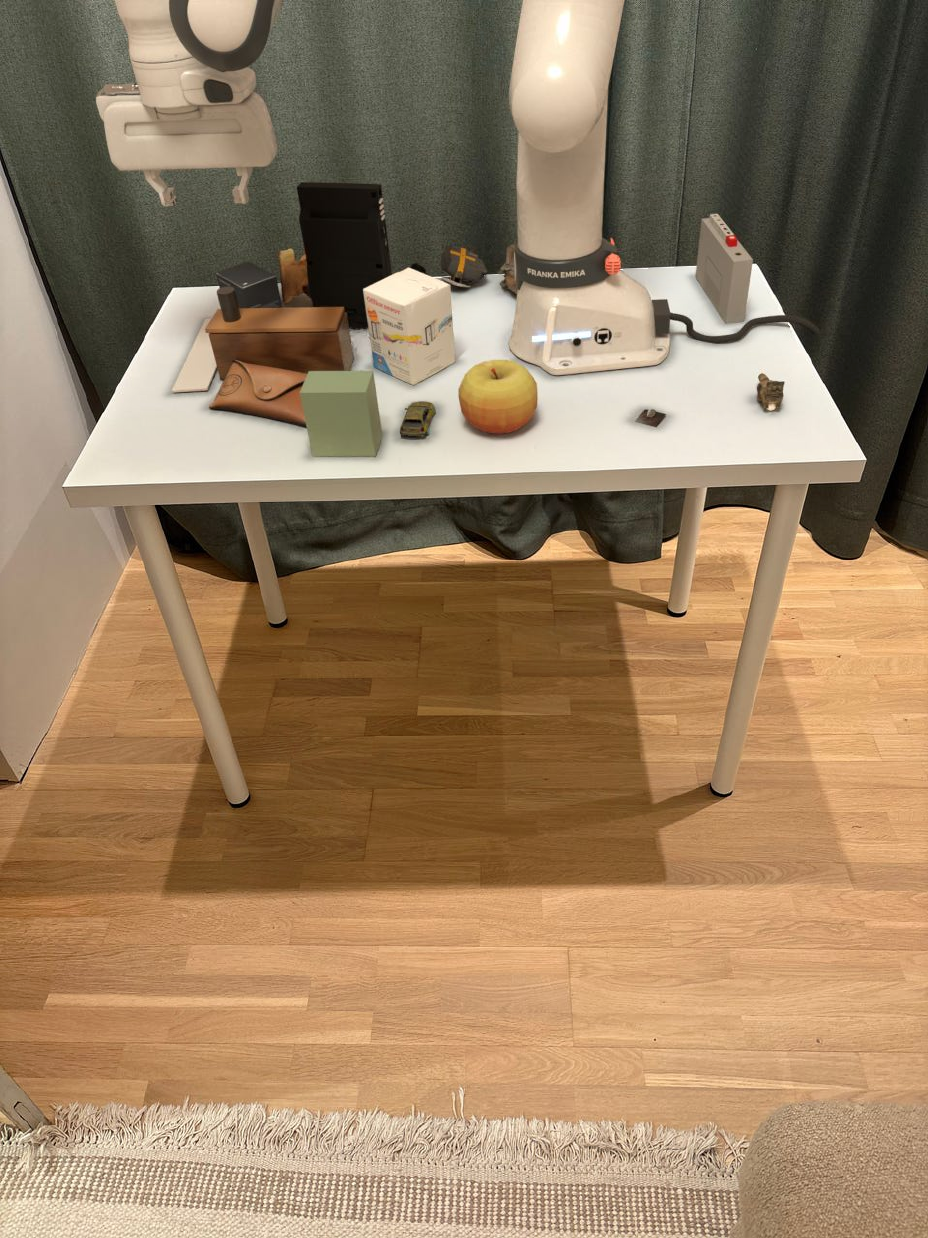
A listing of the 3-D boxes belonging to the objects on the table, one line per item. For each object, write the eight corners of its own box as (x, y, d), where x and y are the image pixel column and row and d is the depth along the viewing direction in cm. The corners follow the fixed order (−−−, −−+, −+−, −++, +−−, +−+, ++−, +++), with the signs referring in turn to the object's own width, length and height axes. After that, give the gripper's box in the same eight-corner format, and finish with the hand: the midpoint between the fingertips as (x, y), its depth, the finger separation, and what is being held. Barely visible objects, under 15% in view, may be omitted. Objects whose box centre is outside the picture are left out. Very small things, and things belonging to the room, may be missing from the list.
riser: (382, 434, 121) (373, 370, 115) (375, 456, 118) (366, 391, 112) (320, 434, 122) (308, 370, 116) (312, 456, 119) (299, 392, 113)
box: (291, 344, 141) (277, 274, 133) (257, 358, 138) (241, 287, 131) (264, 327, 145) (248, 258, 138) (231, 340, 143) (214, 271, 136)
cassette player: (743, 321, 137) (754, 252, 130) (725, 323, 137) (734, 254, 130) (712, 275, 148) (720, 209, 141) (695, 277, 148) (702, 211, 141)
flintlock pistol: (563, 285, 142) (495, 283, 142) (561, 308, 144) (495, 306, 144) (562, 238, 156) (500, 237, 156) (560, 260, 158) (500, 258, 158)
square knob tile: (656, 427, 119) (656, 418, 118) (634, 421, 120) (634, 413, 119) (666, 414, 120) (666, 406, 119) (644, 408, 121) (645, 400, 120)
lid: (344, 310, 131) (339, 278, 128) (336, 331, 127) (330, 298, 124) (218, 312, 134) (210, 280, 130) (205, 332, 129) (197, 300, 126)
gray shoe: (447, 231, 157) (440, 255, 159) (442, 262, 145) (434, 287, 147) (490, 246, 158) (482, 269, 160) (488, 278, 146) (480, 302, 149)
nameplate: (172, 392, 132) (207, 390, 132) (171, 390, 132) (207, 388, 132) (206, 320, 148) (237, 318, 148) (205, 318, 148) (237, 315, 147)
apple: (458, 445, 118) (453, 387, 113) (462, 403, 125) (458, 347, 120) (538, 443, 118) (537, 385, 112) (537, 401, 125) (537, 345, 119)
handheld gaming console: (399, 320, 144) (383, 182, 130) (390, 334, 141) (373, 194, 127) (325, 315, 147) (301, 180, 133) (314, 329, 144) (289, 192, 130)
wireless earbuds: (410, 290, 150) (437, 286, 153) (410, 274, 149) (438, 270, 151) (387, 276, 155) (414, 272, 157) (388, 260, 153) (415, 256, 155)
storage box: (354, 358, 136) (346, 311, 132) (346, 379, 132) (338, 332, 127) (232, 359, 138) (220, 313, 134) (220, 380, 134) (208, 334, 129)
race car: (438, 406, 125) (436, 389, 124) (427, 440, 120) (425, 423, 118) (410, 405, 126) (408, 389, 124) (398, 439, 120) (396, 422, 119)
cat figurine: (763, 417, 118) (766, 384, 116) (748, 395, 125) (750, 365, 123) (786, 415, 118) (790, 383, 116) (769, 394, 125) (773, 363, 122)
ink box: (371, 367, 134) (360, 286, 126) (415, 344, 138) (407, 264, 130) (413, 386, 129) (404, 304, 121) (457, 362, 134) (451, 281, 126)
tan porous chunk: (274, 224, 146) (329, 222, 148) (279, 269, 156) (331, 267, 157) (280, 287, 142) (336, 285, 143) (285, 330, 151) (338, 327, 152)
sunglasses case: (203, 407, 128) (207, 356, 126) (234, 408, 134) (238, 359, 133) (320, 429, 122) (326, 376, 120) (346, 429, 129) (352, 378, 127)
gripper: (80, 92, 110) (118, 215, 119) (253, 85, 107) (277, 211, 117) (101, 77, 114) (135, 196, 124) (267, 69, 112) (289, 191, 121)
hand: (206, 203), depth 120 cm, fingers open, 8 cm apart
